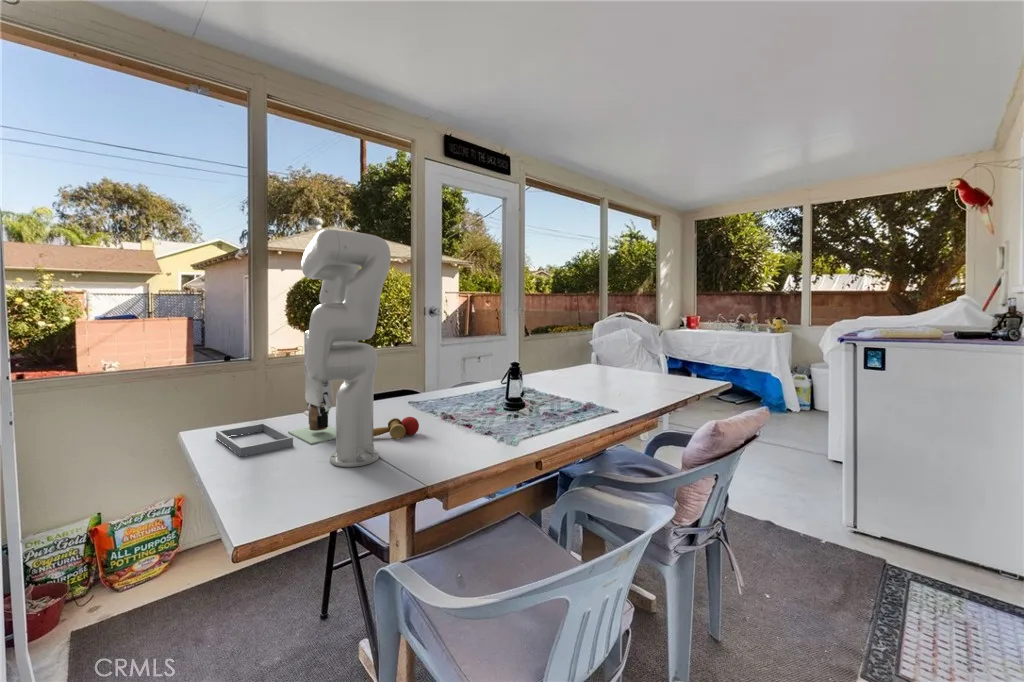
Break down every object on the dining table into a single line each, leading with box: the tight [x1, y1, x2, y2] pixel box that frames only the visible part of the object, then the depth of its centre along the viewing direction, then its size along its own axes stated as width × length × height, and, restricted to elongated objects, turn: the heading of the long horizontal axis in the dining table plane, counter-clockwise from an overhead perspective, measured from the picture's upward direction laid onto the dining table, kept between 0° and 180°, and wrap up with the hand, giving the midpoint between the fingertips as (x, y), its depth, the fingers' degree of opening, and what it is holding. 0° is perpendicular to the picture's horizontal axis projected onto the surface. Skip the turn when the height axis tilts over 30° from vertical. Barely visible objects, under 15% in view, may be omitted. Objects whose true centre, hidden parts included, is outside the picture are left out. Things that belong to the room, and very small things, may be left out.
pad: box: [287, 425, 336, 445], centre depth 142 cm, size 16×12×1 cm
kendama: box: [373, 416, 420, 440], centre depth 141 cm, size 8×6×18 cm
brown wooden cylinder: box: [308, 405, 327, 431], centre depth 141 cm, size 5×5×7 cm
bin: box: [215, 422, 294, 457], centre depth 132 cm, size 22×14×2 cm, turn 48°
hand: (318, 425), depth 142 cm, fingers closed on brown wooden cylinder, 5 cm apart
